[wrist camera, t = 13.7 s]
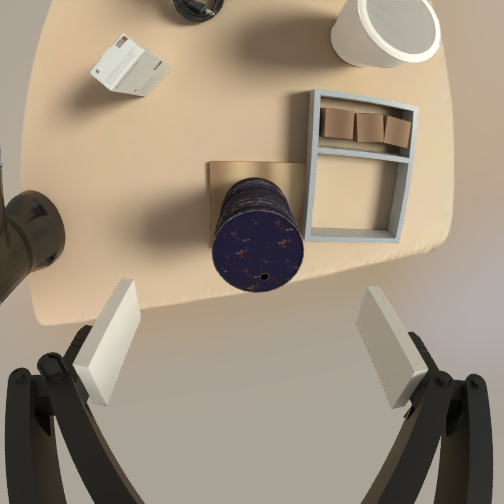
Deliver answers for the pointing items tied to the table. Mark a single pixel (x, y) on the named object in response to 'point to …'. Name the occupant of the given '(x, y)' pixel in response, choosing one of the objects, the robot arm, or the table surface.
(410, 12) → the jar
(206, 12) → the milk frother
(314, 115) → the tray
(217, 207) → the mat
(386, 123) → the block
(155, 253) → the table surface
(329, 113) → the block
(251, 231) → the rusty oil drum
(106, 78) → the skincare box
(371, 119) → the block
